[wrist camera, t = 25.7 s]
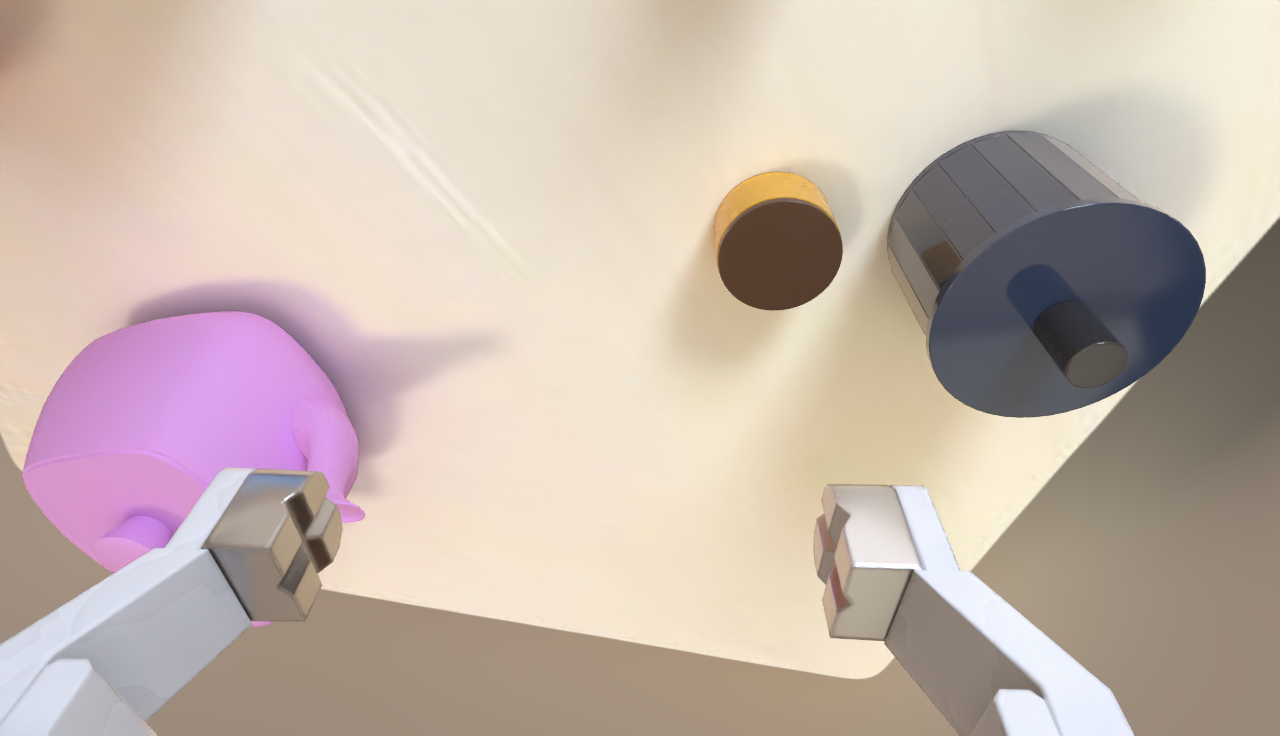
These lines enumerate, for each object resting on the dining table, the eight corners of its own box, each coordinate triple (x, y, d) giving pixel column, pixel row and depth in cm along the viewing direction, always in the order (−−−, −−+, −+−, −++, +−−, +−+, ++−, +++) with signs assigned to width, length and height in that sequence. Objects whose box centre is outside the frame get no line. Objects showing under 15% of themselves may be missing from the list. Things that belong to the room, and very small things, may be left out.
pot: (912, 128, 38) (972, 201, 31) (1126, 131, 38) (1239, 205, 30) (869, 307, 45) (909, 401, 38) (1049, 310, 45) (1125, 406, 38)
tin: (717, 170, 40) (721, 199, 37) (839, 171, 40) (854, 201, 37) (710, 276, 44) (713, 310, 41) (820, 277, 44) (832, 312, 41)
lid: (960, 189, 31) (1001, 238, 27) (1243, 193, 31) (1323, 243, 27) (897, 401, 39) (921, 461, 35) (1123, 406, 38) (1172, 467, 35)
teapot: (242, 514, 60) (137, 683, 48) (73, 314, 48) (-124, 475, 36) (491, 482, 57) (445, 655, 45) (380, 256, 44) (274, 413, 32)
